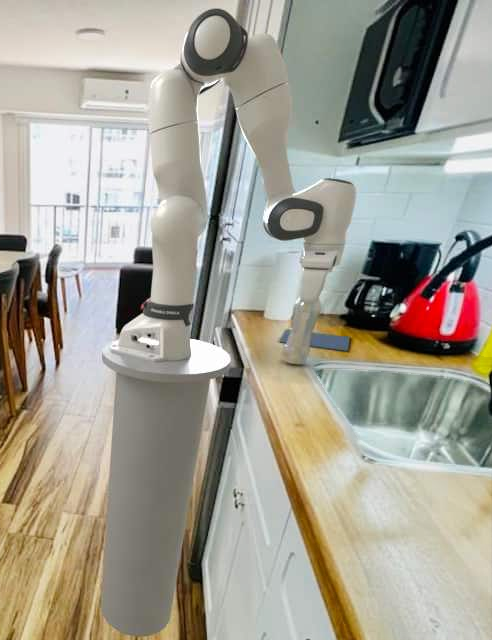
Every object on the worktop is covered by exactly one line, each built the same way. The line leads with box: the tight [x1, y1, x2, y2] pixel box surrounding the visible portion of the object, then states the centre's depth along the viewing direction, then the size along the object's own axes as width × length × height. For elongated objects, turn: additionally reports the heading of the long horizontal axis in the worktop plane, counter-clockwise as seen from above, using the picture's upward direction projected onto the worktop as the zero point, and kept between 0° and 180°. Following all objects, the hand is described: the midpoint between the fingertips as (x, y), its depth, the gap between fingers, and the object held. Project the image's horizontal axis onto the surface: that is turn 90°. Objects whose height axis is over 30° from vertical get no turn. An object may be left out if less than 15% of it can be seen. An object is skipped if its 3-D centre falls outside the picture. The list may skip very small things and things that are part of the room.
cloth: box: [279, 329, 351, 352], centre depth 146 cm, size 18×16×1 cm
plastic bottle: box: [281, 297, 322, 365], centre depth 123 cm, size 6×7×20 cm
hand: (307, 314), depth 121 cm, fingers open, 8 cm apart
